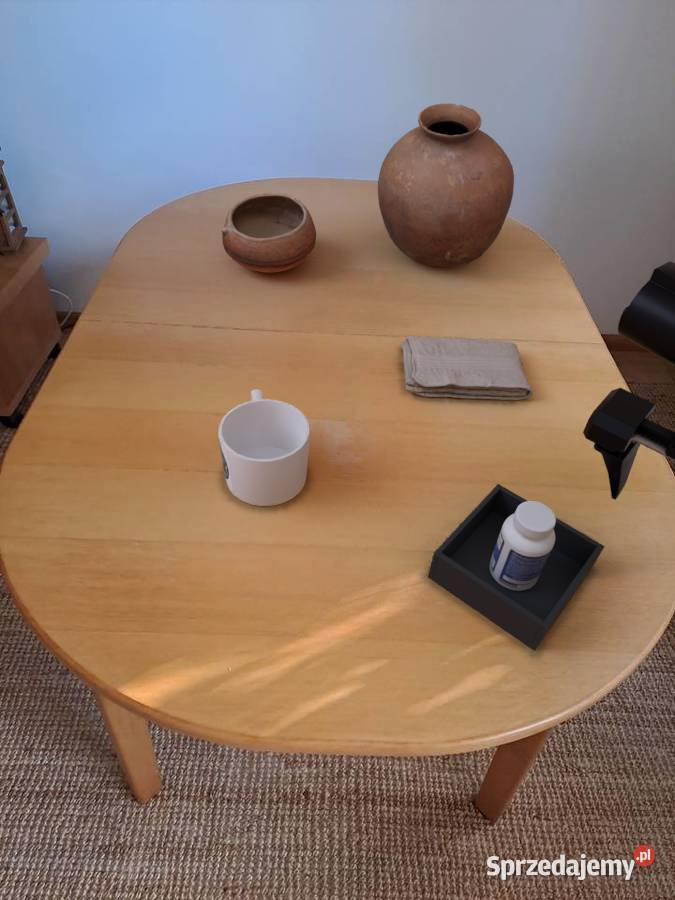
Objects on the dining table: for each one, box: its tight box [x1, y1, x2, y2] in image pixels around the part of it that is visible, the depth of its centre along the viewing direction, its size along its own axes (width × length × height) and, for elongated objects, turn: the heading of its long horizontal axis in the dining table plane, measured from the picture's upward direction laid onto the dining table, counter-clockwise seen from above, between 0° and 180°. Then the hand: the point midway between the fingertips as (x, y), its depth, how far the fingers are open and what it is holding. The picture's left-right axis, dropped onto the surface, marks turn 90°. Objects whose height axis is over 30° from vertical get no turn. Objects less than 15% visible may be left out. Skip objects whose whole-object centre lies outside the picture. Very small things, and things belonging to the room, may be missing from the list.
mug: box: [217, 388, 311, 507], centre depth 80 cm, size 13×10×8 cm
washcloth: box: [400, 335, 533, 401], centre depth 97 cm, size 12×18×3 cm, turn 90°
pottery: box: [377, 103, 515, 267], centre depth 114 cm, size 23×23×25 cm
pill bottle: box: [490, 500, 557, 591], centre depth 70 cm, size 5×5×10 cm
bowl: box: [221, 192, 317, 273], centre depth 114 cm, size 16×16×10 cm
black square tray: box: [427, 483, 605, 652], centre depth 72 cm, size 13×13×4 cm
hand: (661, 521), depth 63 cm, fingers open, 9 cm apart
